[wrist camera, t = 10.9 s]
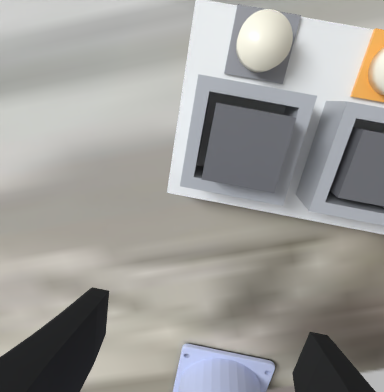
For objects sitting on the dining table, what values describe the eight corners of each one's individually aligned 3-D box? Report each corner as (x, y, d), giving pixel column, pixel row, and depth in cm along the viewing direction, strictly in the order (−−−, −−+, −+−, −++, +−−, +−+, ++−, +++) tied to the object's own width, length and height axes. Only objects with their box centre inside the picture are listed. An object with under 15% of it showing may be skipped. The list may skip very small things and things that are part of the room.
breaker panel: (495, 242, 18) (590, 292, 14) (173, 180, 19) (158, 208, 14) (597, 83, 15) (772, 77, 10) (199, 13, 15) (191, -24, 11)
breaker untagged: (264, 177, 14) (274, 193, 12) (204, 166, 14) (201, 179, 12) (282, 114, 13) (296, 117, 11) (216, 101, 13) (216, 102, 11)
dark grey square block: (376, 193, 15) (405, 210, 13) (319, 182, 15) (337, 197, 13) (401, 135, 14) (438, 143, 12) (339, 124, 14) (363, 129, 12)
